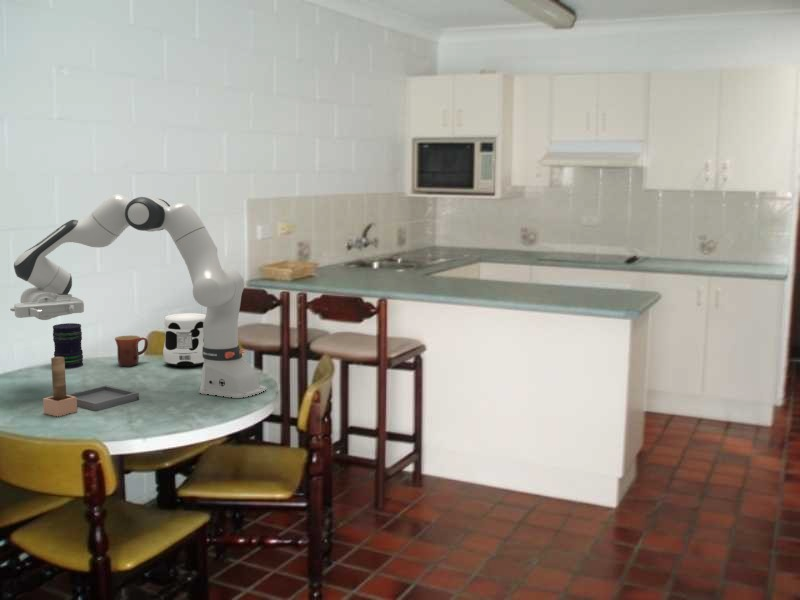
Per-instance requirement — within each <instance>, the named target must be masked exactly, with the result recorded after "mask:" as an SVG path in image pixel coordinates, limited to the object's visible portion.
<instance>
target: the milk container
mask: <svg viewBox="0 0 800 600" xmlns="http://www.w3.org/2000/svg"><path fill="white" fill-rule="evenodd" d="M205 317H206V314H204V313H198V312H186V313H185V312H183V313H182V312H181V313H173V314H169V315H166V316H165V317H164V335H165V336H164V339H165V340H164V344H163V350H162V355H163V360H164V362H165V363H166V364H168V365H170V366H173V367H194V366H196V365H197V366H200V365H203V363H204V358H203V353H202V351H203V346H204V335H203V323H204V320H205Z"/></svg>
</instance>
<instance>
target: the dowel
mask: <svg viewBox="0 0 800 600" xmlns="http://www.w3.org/2000/svg"><path fill="white" fill-rule="evenodd" d="M50 362H51V378H52V380H51V381H52V396H53V400H56V401H59V400H63V399H66V395H67V382H66V369H65V360H64V357H51V358H50Z"/></svg>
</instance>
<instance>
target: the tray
mask: <svg viewBox="0 0 800 600" xmlns="http://www.w3.org/2000/svg"><path fill="white" fill-rule="evenodd" d="M66 395H70V396H74V397H77V408H78V407H79V408H83V409H86V410H91V411H95V412H96V411H101V410H104V409H108V408H112V407H115V406H119V405H123V404H127V403H130V402H134V401H138V400H140V396H139V395H140V393H139V392H137V391H134V390H129V389H124V388H119V387H115V386H111V385H105V384H104V385H102V386H97V387H94V388H93V387H92V388H89V389H84V390H80V391H76V392H72V393H68V394H67V393H66Z"/></svg>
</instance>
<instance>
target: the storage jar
mask: <svg viewBox="0 0 800 600" xmlns="http://www.w3.org/2000/svg"><path fill="white" fill-rule="evenodd" d="M82 335H83V332H82V324H80V323H77V322H76V323H74V322H72V323H71V322H69V323H68V322H67V323H58V324H54V325H52V337H53V339H52V340H53V342H54V343H53V344H54V352H53V356H54V357H64V360H65V370H66V369H67V370H68V369H69V370H71V369H76V368H81V367H82V366H83V365H84V363H83V361H84V360H83V359H84V354H83V353H84V352H83V349H82V340H83V336H82Z"/></svg>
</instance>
